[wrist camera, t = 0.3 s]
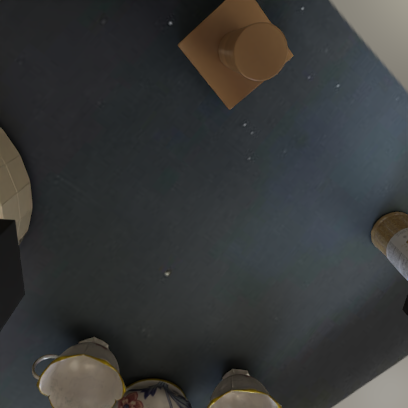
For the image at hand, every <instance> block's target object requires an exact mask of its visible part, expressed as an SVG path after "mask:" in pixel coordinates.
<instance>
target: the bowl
mask: <svg viewBox="0 0 408 408" xmlns="http://www.w3.org/2000/svg"><path fill="white" fill-rule="evenodd" d="M32 206H33V205H32V195H31V185H30V179H29V177H28V174H27V171H26V169H25V166H24V164H23V161H22V158H21V156H20V154H19V152H18V151H17V149H16V148H15V146H14V145H13V144H12V142H11V141H10V139H9V138H8V136H7V135H6V133H5V132H4V130H3V129H2V128H1V127H0V219H12V220H15V221H16V229H17V237H18V245H20V243H21V241H22V240H23V238H24V236H25V234H26V233H27V231H28V228H29V223H30V218H31V213H32V208H33V207H32Z"/></svg>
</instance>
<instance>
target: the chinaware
mask: <svg viewBox="0 0 408 408" xmlns="http://www.w3.org/2000/svg"><path fill="white" fill-rule="evenodd" d="M47 358H56V359H55V360H53V361H52V362H51V363H50V364H49V365H48V366H47V368H46V369H45V370H44V372H43V373H42V374H41V376H38V375H37V374H36V373H35V367H36V365H37V364H38V363H39V362H40V361H42V360H44V359H47ZM32 374H33V376H34V377H35V378H36V379H39V380H38V382H37V387H38V388H39V391H40V392H41V393H42V394H44V395H46V396H49V397H48V398H49V401H50V403H51V406H52V407H53V408H192V407H191V404H190V402H189V401H188V400H187V399H186V396H185V394H184V392H183V391H182V390H181V389H180V388H179V387H178V386H177V385H175V384H174V383H172V382H170V381H167V380H163V379H157V378H148V379H142V380H139V381H136V382H134V383H132V384H130V385H129V386H127V387H126V386H125V384H124V381H123V379H122V377H121V375H120V374H119V366H118V363H117V360H116V358H115V356H114V355H113V354H112V352H111V351H110V350H109V348H108V344H106V343H105V342H104V341H102V340H100V339H97V338H96V337H93V338H89V339H86V340H84V341H81V342H79V344H76V345H74V346H72V347H70V348H68V349H67V350H65V351H64V352H63V353H62V354H61V355H60V356H57V355H52V354H49V355H44V356H42V357H40V358H39V359H37V360H36V361H35V362H34V364H33V366H32ZM222 379H223V380H222V381H221V382H220V383H219V384H218V385H217V386H216V388H215V390H214V391H213V393H212V396H211V399H210V403H209V404H208V406H207V408H282V406H281V405H280V404H279V403H278V402H277V401H276V400H275V399H274V398H272V397H271V396H270V395H269V393H268V391H267V390H266V388H265V387H264V386H263V385H262V384H261V383H260V382H259V381H258V380H257V379H255V378H253V377H251V376H250V375H249V373H248V371H247V370H241V369H231V370H230V371H229V372H227V373H226V374H225V375H224V377H222ZM116 401H117V402H116Z"/></svg>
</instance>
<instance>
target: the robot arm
mask: <svg viewBox="0 0 408 408" xmlns="http://www.w3.org/2000/svg"><path fill="white" fill-rule="evenodd" d="M24 295H25V291H24V283H23V275H22V268H21V260H20V252H19V245H18V237H17V229H16V221H15V220H12V219H0V331H1V330H2V328H3V327H4V325H5V323H6V322H7V320H8V319H9V317H10V316H11V314H12V313H13V311H14V310H15V308H16V307H17V305H18V304H19V302H20V301H21V299H22V298H23V296H24ZM403 311H404V312H405V313H406V314H407V316H408V295H407V298H406V301H405V304H404V307H403Z"/></svg>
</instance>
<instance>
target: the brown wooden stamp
mask: <svg viewBox="0 0 408 408" xmlns="http://www.w3.org/2000/svg"><path fill="white" fill-rule="evenodd" d="M178 46H179V48H180V49H181V50H182V51H183V53H184V54H185V55H186V56H187V58H188V59H189V60H190V61H191V63H192V64H193V65H194V66H195V68H196V69H197V70H198V71H199V73H200V74H201V75H202V76H203V78H204V79H205V80H206V81H207V83H208V84H209V85H210V86H211V88H212V89H213V90H214V91H215V93H216V94H217V95H218V96H219V98H220V99H221V100H222V101H223V103H224V104H225V105H226V106H227V108H228V109H229V110H230V109H232V108H233V107H234V106H235V105H236V104H237V103H239V102H240V101H241V100H242V99H243V98H245V97H246V96H247V95H248V94H249V93H250V92H252V91H253V90H254V89H255V88H256V87H258V86H259V85H260V84H261V83H262V82H264V81H265V80H268V79H270V78H272V77H274V76H275V75H276V74H278V73H279V72H280V70H281V69H282V68H283V66H284V64H285V63H286V62H287V61H288V60H290V59H291V58H292V57H293V54H292V53H291V51H290V50H289V48H288V46H287V41H286V38H285V36H284V34H283V33H282V31H281V30H280V29H279V28H278V27H276V26H275V25H273V24H271V22H270V21H269V19H268V18H267V16H266V15H265V13H264V12H263V10H262V9H261V8H260V6H259V5H258V3H257V2H256V0H225V1H224V2H223V3H222V4H221V5H220V6H218V7H217V8H216V9H215V10H214V11H213V12H212V13H211V14H210V15H209V16H208V17H207V18H206V19H205V20H203V21H202V22H201V23H200V24H199V25H198V26H197V27H196V28H195V29H194V30H193V31H192V32H191V33H189V34H188V35H187V36H186V37H185V38H184V39H183V40H182V41H181V42H180V43H179V44H178Z"/></svg>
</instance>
